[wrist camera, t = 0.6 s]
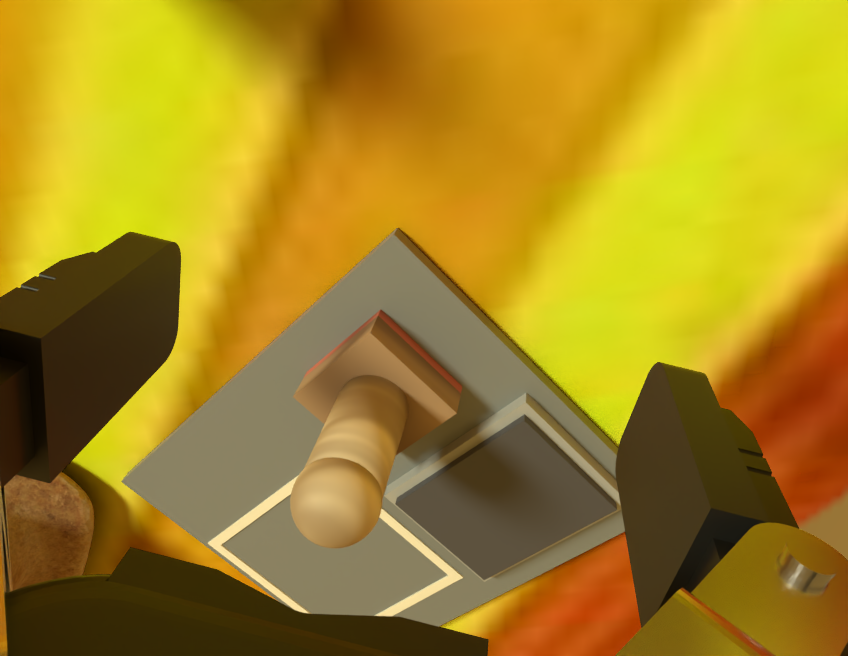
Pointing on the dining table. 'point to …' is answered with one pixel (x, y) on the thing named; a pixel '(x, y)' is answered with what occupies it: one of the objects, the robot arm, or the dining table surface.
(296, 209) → the dining table surface
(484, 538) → the desk board
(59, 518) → the tan boot
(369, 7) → the dining table surface
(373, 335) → the stamp
